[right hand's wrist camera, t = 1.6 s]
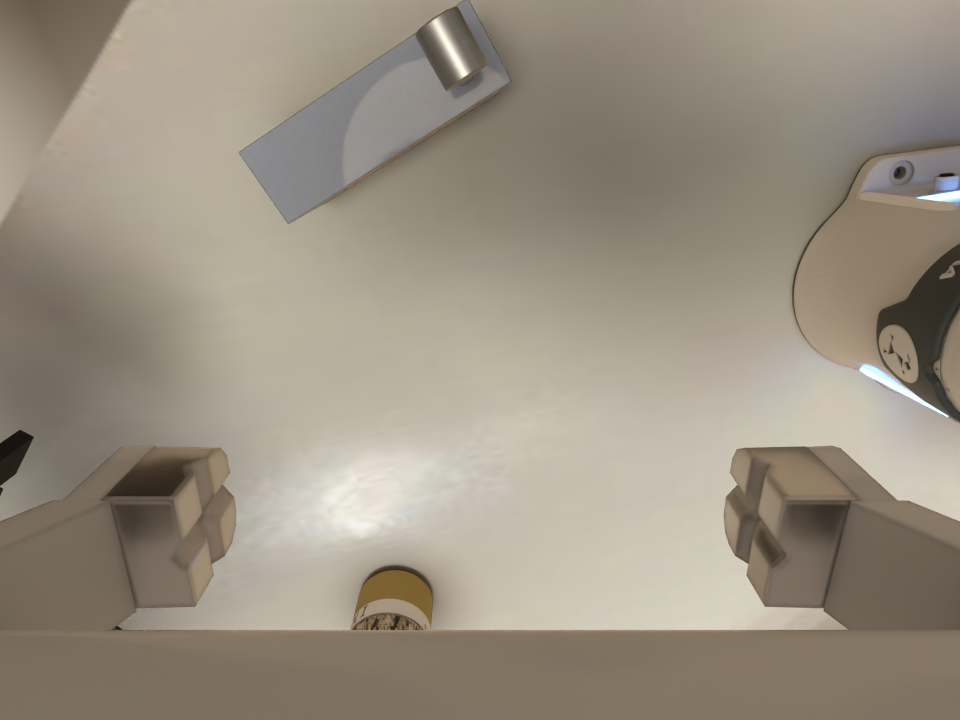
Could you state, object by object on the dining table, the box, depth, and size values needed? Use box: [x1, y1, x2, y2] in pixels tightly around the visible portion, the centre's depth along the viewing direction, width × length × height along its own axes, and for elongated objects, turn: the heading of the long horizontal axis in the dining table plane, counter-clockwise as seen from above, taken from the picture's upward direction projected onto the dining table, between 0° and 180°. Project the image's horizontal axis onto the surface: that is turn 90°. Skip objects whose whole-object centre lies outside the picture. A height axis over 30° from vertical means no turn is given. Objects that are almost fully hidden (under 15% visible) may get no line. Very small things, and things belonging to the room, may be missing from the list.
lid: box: [239, 0, 511, 224], centre depth 31 cm, size 15×5×9 cm, turn 121°
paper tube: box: [350, 570, 433, 630], centre depth 47 cm, size 7×7×25 cm
